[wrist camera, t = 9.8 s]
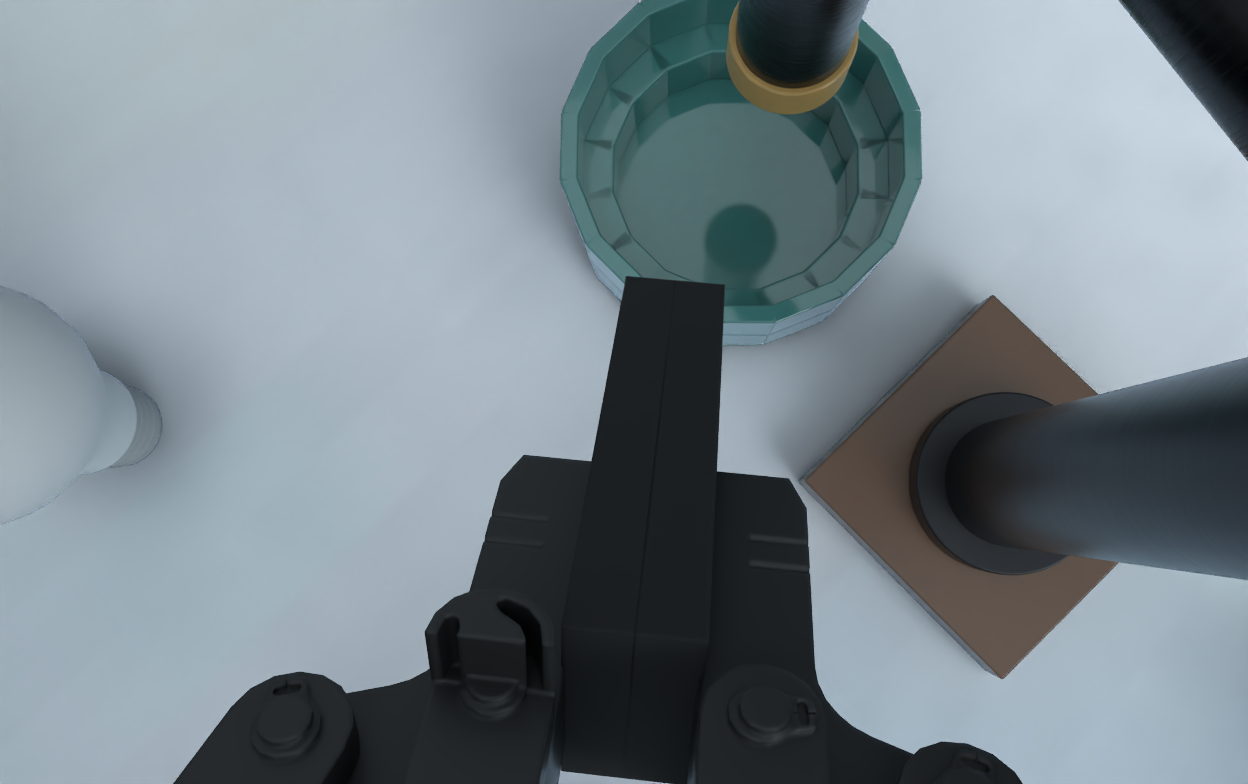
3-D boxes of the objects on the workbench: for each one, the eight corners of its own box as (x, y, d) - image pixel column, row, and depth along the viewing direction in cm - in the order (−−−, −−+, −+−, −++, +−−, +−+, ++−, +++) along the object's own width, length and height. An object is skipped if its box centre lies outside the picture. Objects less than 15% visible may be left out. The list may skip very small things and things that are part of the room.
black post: (797, 481, 31) (1011, 448, 12) (978, 303, 32) (1488, -27, 12) (987, 672, 31) (1570, 991, 11) (1170, 486, 31) (2070, 461, 11)
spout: (1239, 502, 22) (2209, 505, 8) (1084, 611, 22) (1793, 803, 8) (824, -41, 24) (1035, -800, 10) (679, 58, 24) (686, -569, 10)
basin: (512, 194, 33) (487, 146, 28) (731, -15, 33) (740, -95, 29) (729, 412, 32) (738, 398, 27) (953, 193, 32) (998, 144, 28)
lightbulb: (257, 475, 32) (43, 463, 21) (83, 554, 32) (-220, 582, 21) (189, 304, 33) (-53, 208, 22) (19, 382, 33) (-307, 323, 22)
